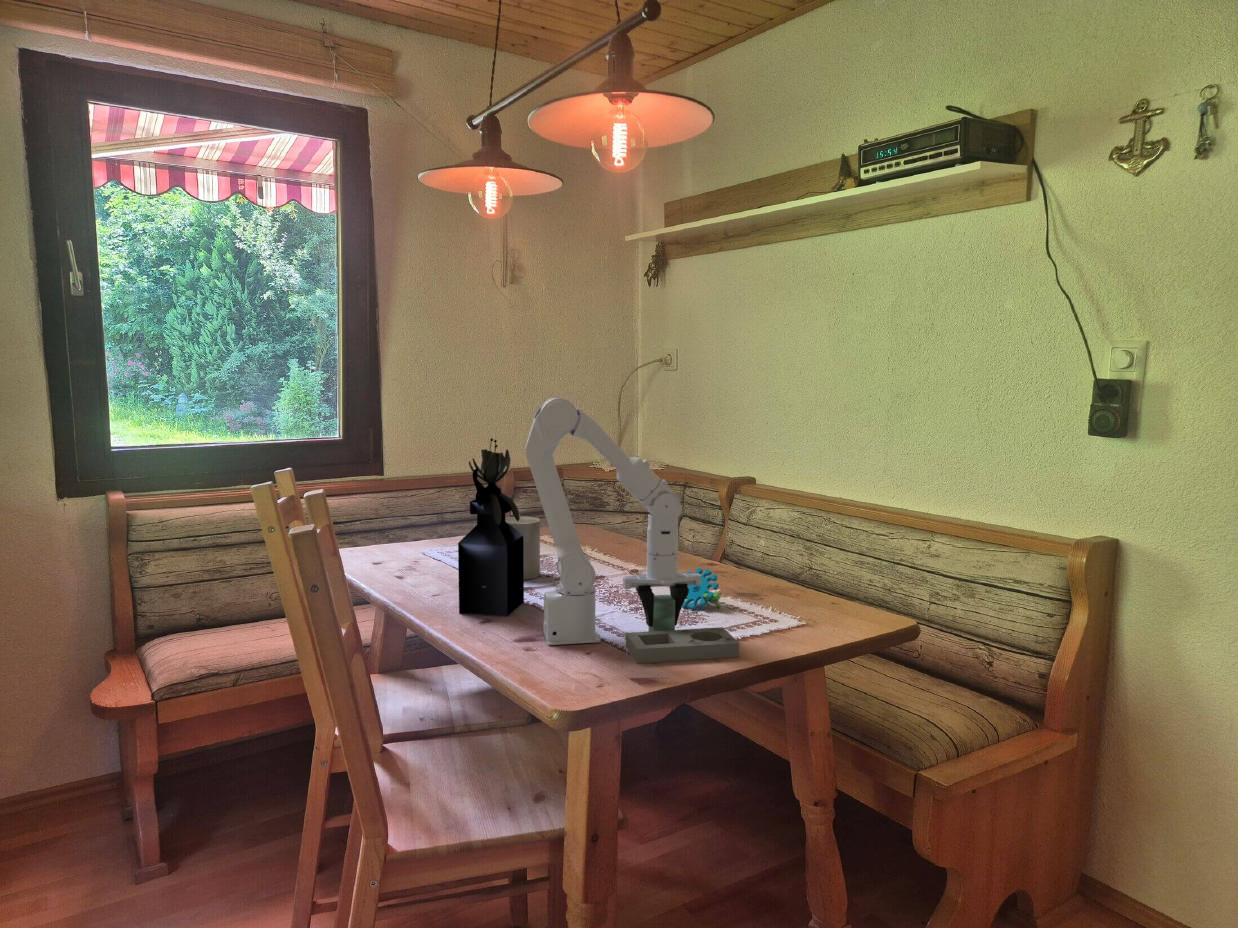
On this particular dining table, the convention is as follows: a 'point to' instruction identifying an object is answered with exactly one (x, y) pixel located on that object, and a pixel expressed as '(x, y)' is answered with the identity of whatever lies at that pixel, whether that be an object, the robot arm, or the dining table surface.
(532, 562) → the pillar candle
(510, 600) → the vase
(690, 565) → the dining table surface
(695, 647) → the hole plate
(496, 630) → the dining table surface
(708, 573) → the gear
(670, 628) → the square peg
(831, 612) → the dining table surface
